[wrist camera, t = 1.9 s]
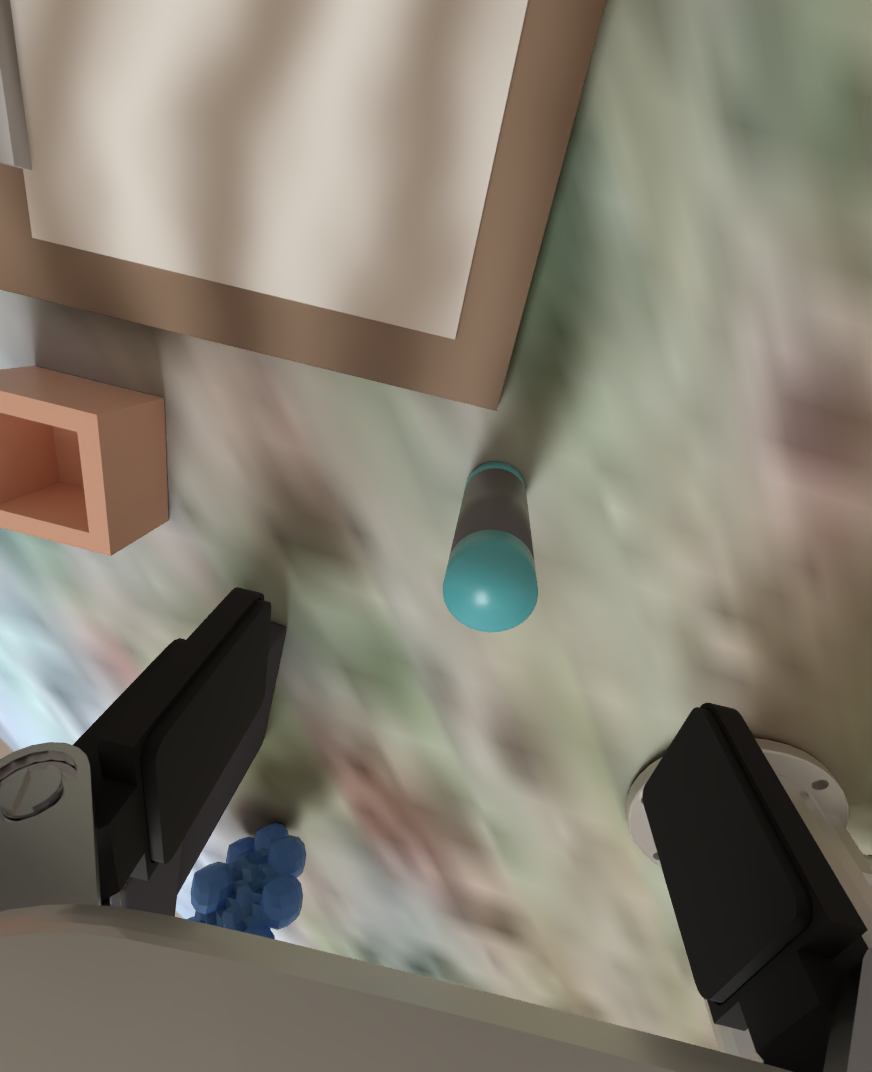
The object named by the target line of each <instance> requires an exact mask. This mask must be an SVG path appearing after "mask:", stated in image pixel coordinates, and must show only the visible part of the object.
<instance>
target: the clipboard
mask: <svg viewBox="0 0 872 1072" xmlns="http://www.w3.org/2000/svg"><path fill="white" fill-rule="evenodd" d="M605 3H606V0H0V289H1V290H5V291H9V292H13V293H17V294H21V295H25V296H29V297H33V298H37V299H41V300H46V301H50V302H54V303H58V304H62V305H66V306H70V307H74V308H78V309H82V310H86V311H91V312H95V313H99V314H103V315H107V316H111V317H115V318H119V319H123V320H127V321H131V322H136V323H140V324H144V325H148V326H152V327H156V328H160V329H164V330H168V331H172V332H176V333H181V334H185V335H189V336H193V337H197V338H201V339H205V340H209V341H213V342H217V343H221V344H226V345H230V346H234V347H238V348H242V349H246V350H250V351H254V352H258V353H262V354H266V355H271V356H275V357H279V358H283V359H287V360H291V361H295V362H299V363H303V364H307V365H311V366H316V367H320V368H324V369H328V370H332V371H336V372H340V373H344V374H348V375H352V376H356V377H361V378H365V379H369V380H373V381H377V382H381V383H385V384H389V385H393V386H397V387H401V388H406V389H410V390H414V391H418V392H422V393H426V394H430V395H434V396H438V397H442V398H446V399H451V400H455V401H459V402H463V403H467V404H471V405H475V406H479V407H483V408H487V409H491V410H496V411H497V407H498V404H499V400H500V396H501V392H502V389H503V385H504V381H505V377H506V374H507V370H508V366H509V362H510V359H511V355H512V351H513V347H514V344H515V340H516V336H517V332H518V329H519V325H520V321H521V317H522V314H523V310H524V306H525V302H526V299H527V295H528V291H529V288H530V284H531V280H532V276H533V273H534V269H535V265H536V261H537V258H538V254H539V250H540V246H541V243H542V239H543V235H544V231H545V228H546V224H547V220H548V216H549V213H550V209H551V205H552V201H553V198H554V194H555V190H556V186H557V183H558V179H559V175H560V171H561V168H562V164H563V160H564V156H565V153H566V149H567V145H568V141H569V138H570V134H571V130H572V126H573V123H574V119H575V115H576V111H577V108H578V104H579V100H580V97H581V93H582V89H583V85H584V82H585V78H586V74H587V70H588V67H589V63H590V59H591V55H592V52H593V48H594V44H595V40H596V37H597V33H598V29H599V25H600V22H601V18H602V14H603V10H604V7H605Z"/></svg>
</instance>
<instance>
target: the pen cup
mask: <svg viewBox="0 0 872 1072" xmlns="http://www.w3.org/2000/svg"><path fill="white" fill-rule="evenodd" d="M168 520H169V515H168V487H167V460H166V432H165V404H164V398H161V397H157V396H153V395H149V394H145V393H141V392H137V391H133V390H129V389H125V388H121V387H117V386H113V385H109V384H105V383H101V382H97V381H93V380H89V379H85V378H81V377H77V376H73V375H69V374H65V373H61V372H57V371H53V370H49V369H45V368H41V367H37V366H29V367H20V368H11V369H2V370H0V527H1V528H5V529H9V530H12V531H16V532H20V533H24V534H28V535H32V536H36V537H40V538H44V539H47V540H51V541H55V542H59V543H63V544H67V545H71V546H75V547H78V548H82V549H86V550H90V551H94V552H98V553H102V554H106V555H109V556H111V555H113V554H115V553H116V552H118V551H120V550H121V549H123V548H124V547H126V546H128V545H129V544H131V543H133V542H134V541H136V540H137V539H139V538H141V537H142V536H144V535H146V534H147V533H149V532H150V531H152V530H154V529H155V528H157V527H159V526H160V525H162V524H164V523H165V522H167V521H168Z"/></svg>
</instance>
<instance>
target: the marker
mask: <svg viewBox="0 0 872 1072" xmlns="http://www.w3.org/2000/svg"><path fill="white" fill-rule="evenodd" d="M443 597H444V601H445V603H446V606H447V608H448V609H449V611H450V612H451V614H452V615H453V616H454V617H455V618H456V619H457V620H458V621H460V622H461V623H462V624H464V625H466V626H468V627H470V628H472V629H475V630H479V631H484V632H500V631H505V630H508V629H511V628H514V627H515V626H517V625H519V624H521V623H522V622H523V621H524V620H526V619H527V618H528V617H529V615H530V614H531V613H532V611H533V610H534V607H535V605H536V602H537V597H538V588H537V580H536V571H535V563H534V555H533V546H532V538H531V530H530V522H529V513H528V505H527V497H526V489H525V482H524V479H523V477H522V475H521V474H520V472H519V471H518V470H517V469H516V468H514V467H513V466H511V465H510V464H507V463H504V462H500V461H491V462H487V463H484V464H482V465H480V466H478V467H477V468H476V469H474V470H473V472H472V473H471V474H470V476H469V478H468V480H467V483H466V487H465V491H464V496H463V500H462V505H461V509H460V513H459V518H458V522H457V526H456V531H455V535H454V540H453V544H452V548H451V553H450V557H449V561H448V566H447V570H446V575H445V579H444V584H443Z"/></svg>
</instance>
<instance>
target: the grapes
mask: <svg viewBox="0 0 872 1072" xmlns="http://www.w3.org/2000/svg"><path fill="white" fill-rule="evenodd" d="M305 859H306V851H305V846H304V843H303V842H302V841H301V840H300V838H299V837H295V836H291V835H290V836H289V835H288V830H287V829H286V828H285V827H284V826H283V825H282V824H277V823H273V824H270V825H266V826H265V827H263V828H261V829H259V830H258V831H256V834H255V838H253V837H246V838H242V839H239V840H238V841H236V842H234V843H232V844H230V845H229V848H228V852H227V858H226V863H222V862H216V863H213V864H209V865H207V866H206V867H204V868H202V869H200V870H199V871H197V872H195V874H194V878H193V882H192V888H191V904H192V905H193V907H194V909H195V910H196V912H195V916H194V917H191V918H189V919H187V920H191V921H196V922H200V923H205V924H209V925H214V926H218V927H222V928H227V929H231V930H236V931H240V932H245V933H249V934H254V935H258V936H262V937H266V938H270V939H275V938H274V935H273V933H272V932H271V930H270V928H273V929H277V930H278V929H281V928H284V927H286V926H288V925H290V924H291V923H292V922H293V921H294V920H296V918H297V917H298V916H299V914H300V910H301V907H302V899H303V893H302V888H301V883H300V882H299V881H298V879H297V877H298V876H300V875H301V874H302V872H303V869H304V866H305Z"/></svg>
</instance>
